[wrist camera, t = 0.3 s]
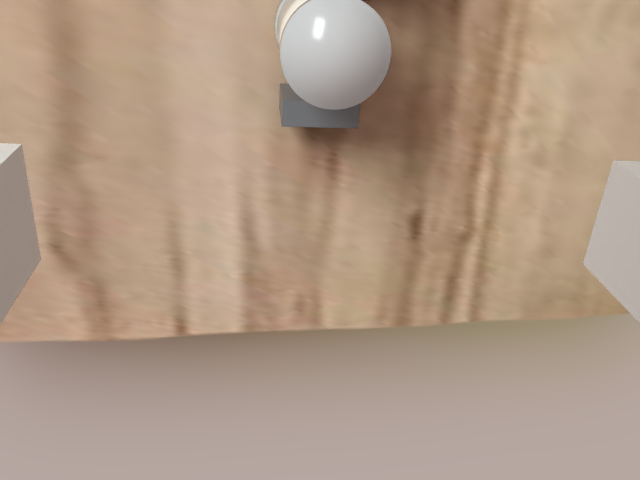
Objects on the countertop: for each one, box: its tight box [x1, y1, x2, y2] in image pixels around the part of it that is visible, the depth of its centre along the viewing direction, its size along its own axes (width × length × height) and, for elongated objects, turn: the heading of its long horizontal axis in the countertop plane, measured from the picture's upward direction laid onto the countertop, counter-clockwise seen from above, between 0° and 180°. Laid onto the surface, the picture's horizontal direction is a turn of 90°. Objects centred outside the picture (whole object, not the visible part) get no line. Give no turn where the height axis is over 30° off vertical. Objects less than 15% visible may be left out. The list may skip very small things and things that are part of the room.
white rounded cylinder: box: [275, 0, 391, 110], centre depth 33 cm, size 5×5×9 cm
